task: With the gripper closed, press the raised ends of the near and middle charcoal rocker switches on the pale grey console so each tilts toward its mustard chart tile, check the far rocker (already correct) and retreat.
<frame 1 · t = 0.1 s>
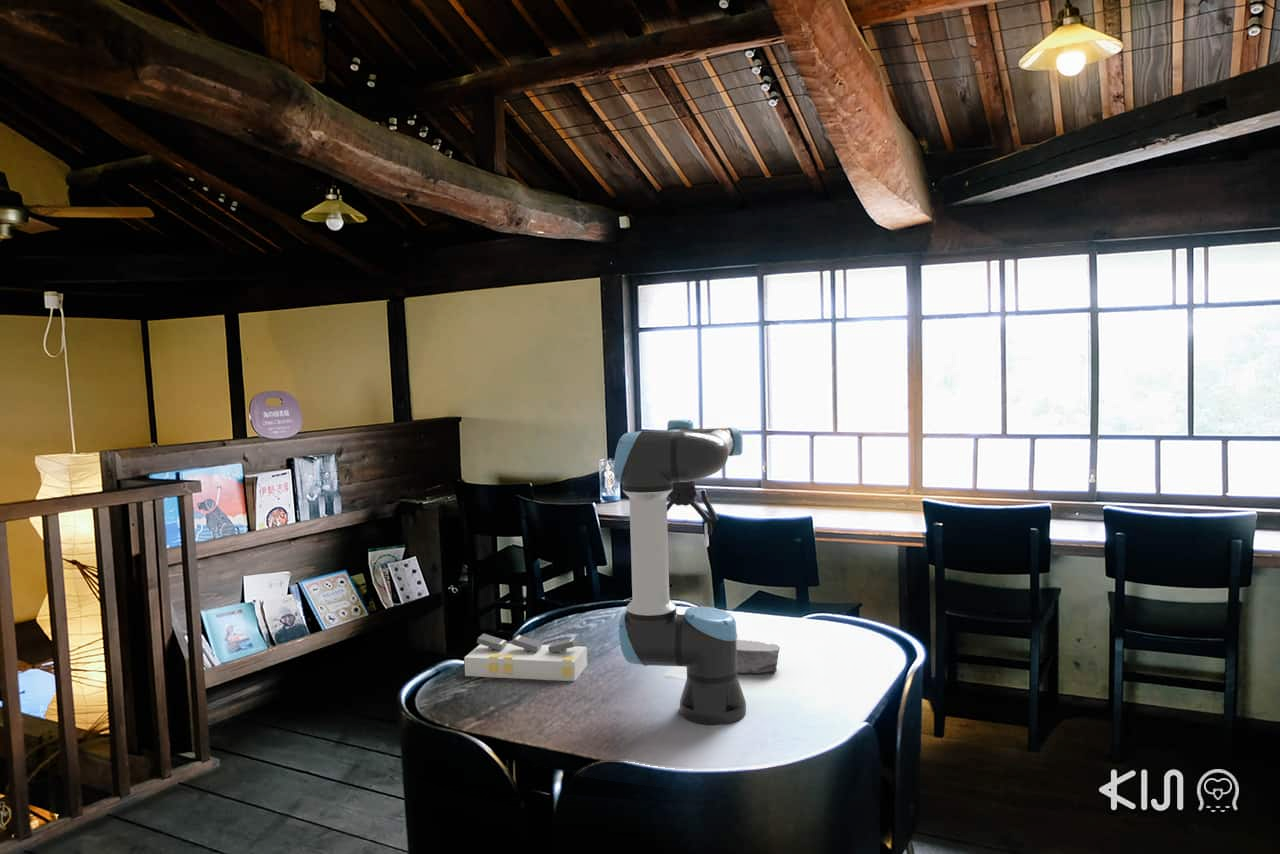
hand: (683, 545, 236), 28 cm above the table, fingers open, 13 cm apart
rocker near: (563, 644, 215), point 7 cm above the table, hinge at -15.0°
switch console: (527, 670, 217), on the table
rocker middle: (527, 643, 217), point 7 cm above the table, hinge at 15.0°
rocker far: (492, 641, 219), point 7 cm above the table, hinge at 15.0°
decorative stone: (751, 670, 213), on the table
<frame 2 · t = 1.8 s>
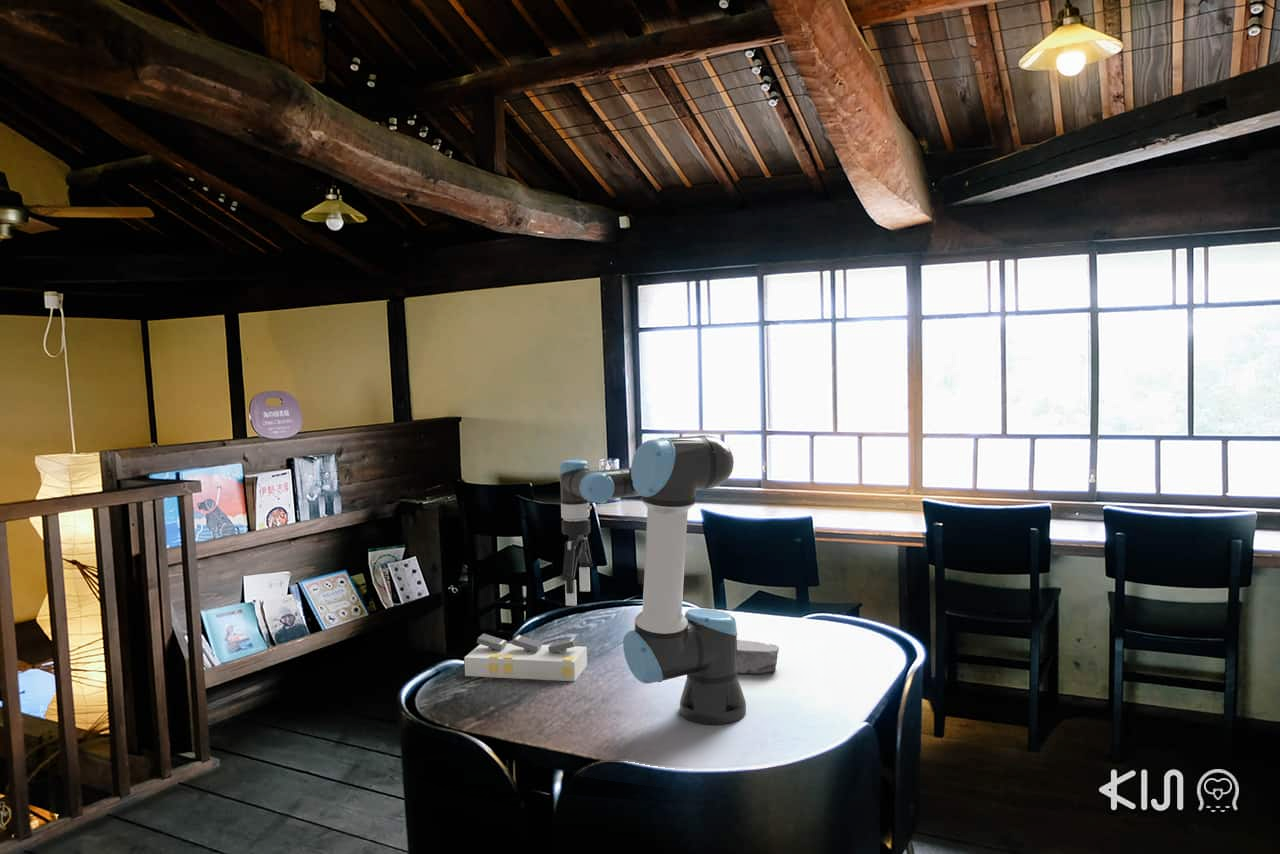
hand: (578, 597, 215), 19 cm above the table, fingers open, 13 cm apart
nothing on the table moved.
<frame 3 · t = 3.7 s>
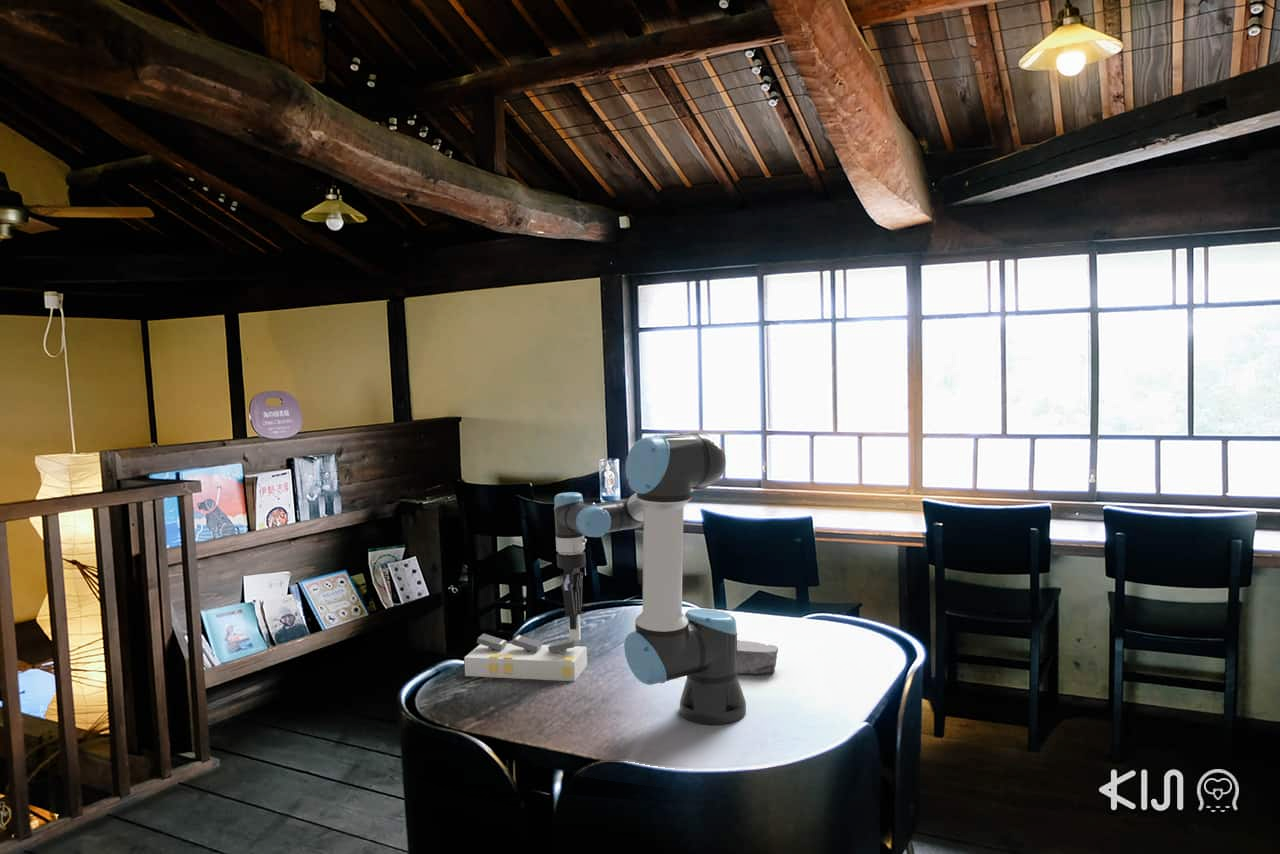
hand: (575, 639, 215), 8 cm above the table, fingers closed
rocker near: (563, 644, 215), point 7 cm above the table, hinge at -13.0°, touching gripper
everything else where it was.
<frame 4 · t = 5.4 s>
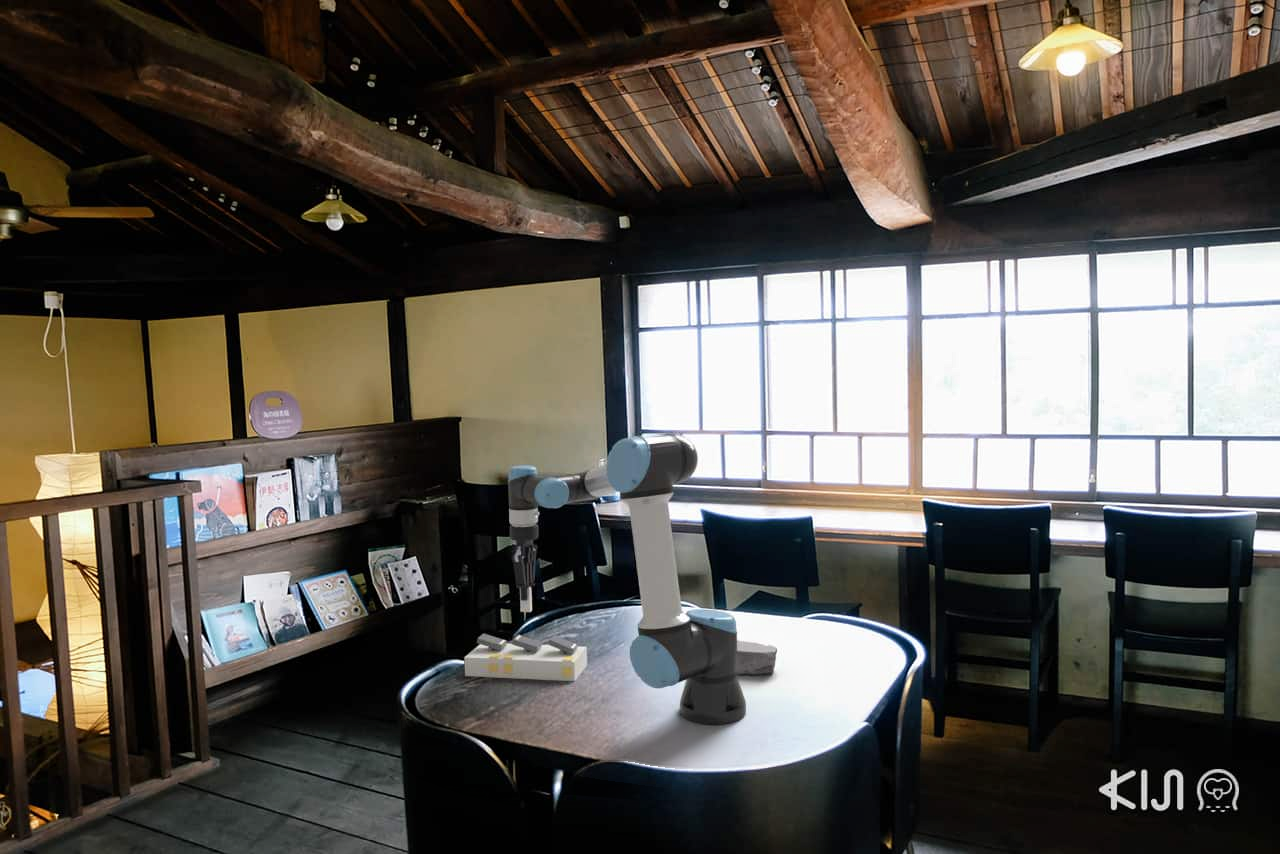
hand: (526, 611, 217), 16 cm above the table, fingers closed
rocker near: (563, 644, 215), point 7 cm above the table, hinge at 20.9°
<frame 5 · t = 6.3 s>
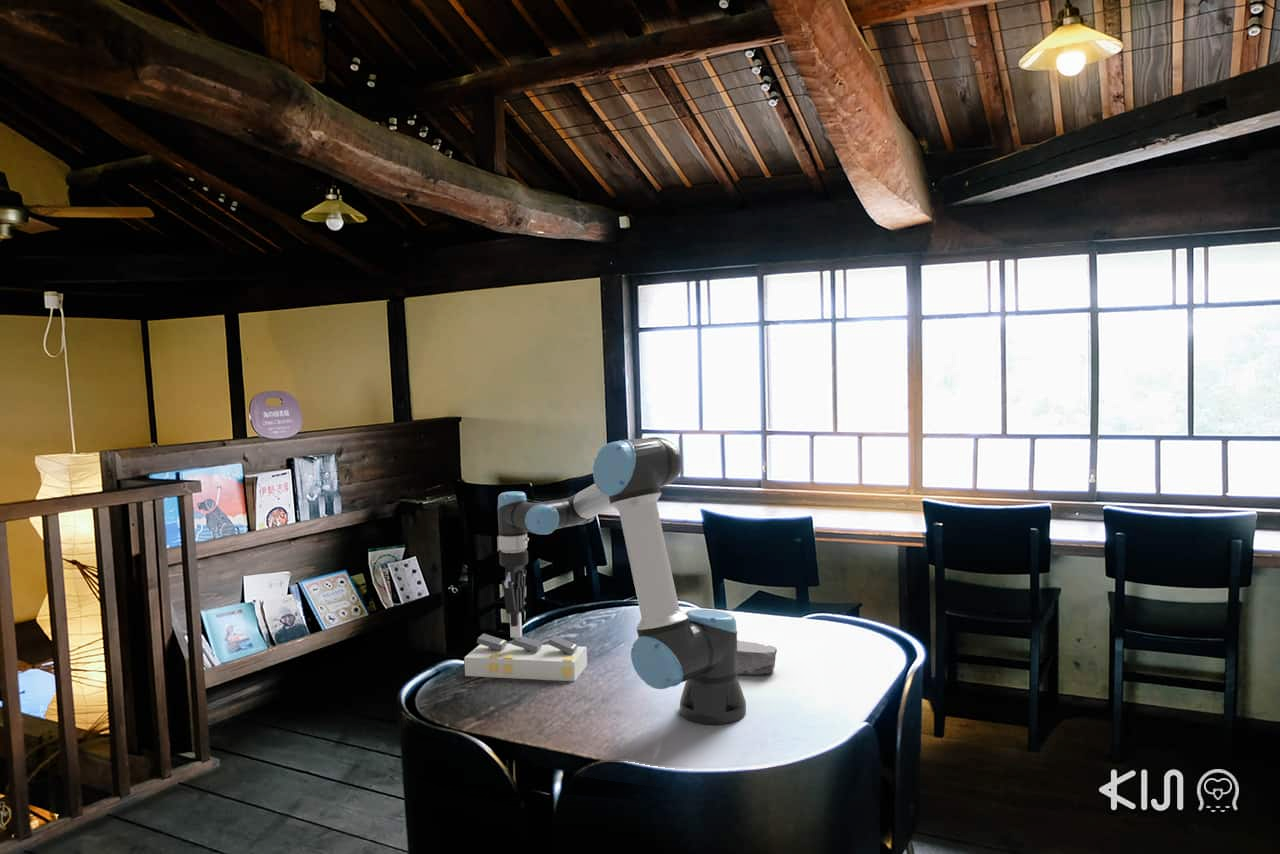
hand: (516, 636, 218), 9 cm above the table, fingers closed
rocker near: (563, 644, 215), point 7 cm above the table, hinge at 22.1°
rocker middle: (527, 643, 217), point 7 cm above the table, hinge at 14.6°, touching gripper
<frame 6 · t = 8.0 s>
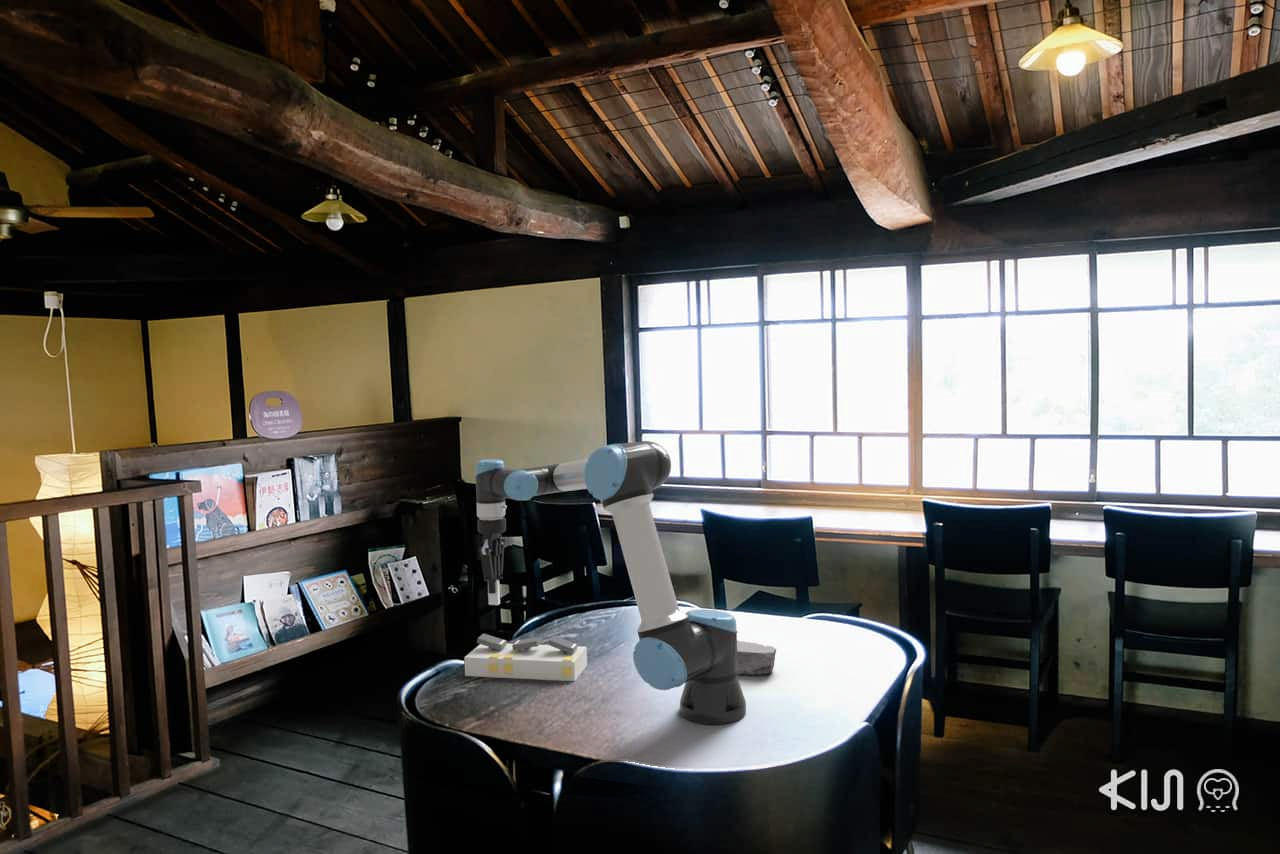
hand: (494, 604, 219), 17 cm above the table, fingers closed
rocker near: (563, 644, 215), point 7 cm above the table, hinge at 19.5°
rocker middle: (527, 643, 217), point 7 cm above the table, hinge at -11.5°
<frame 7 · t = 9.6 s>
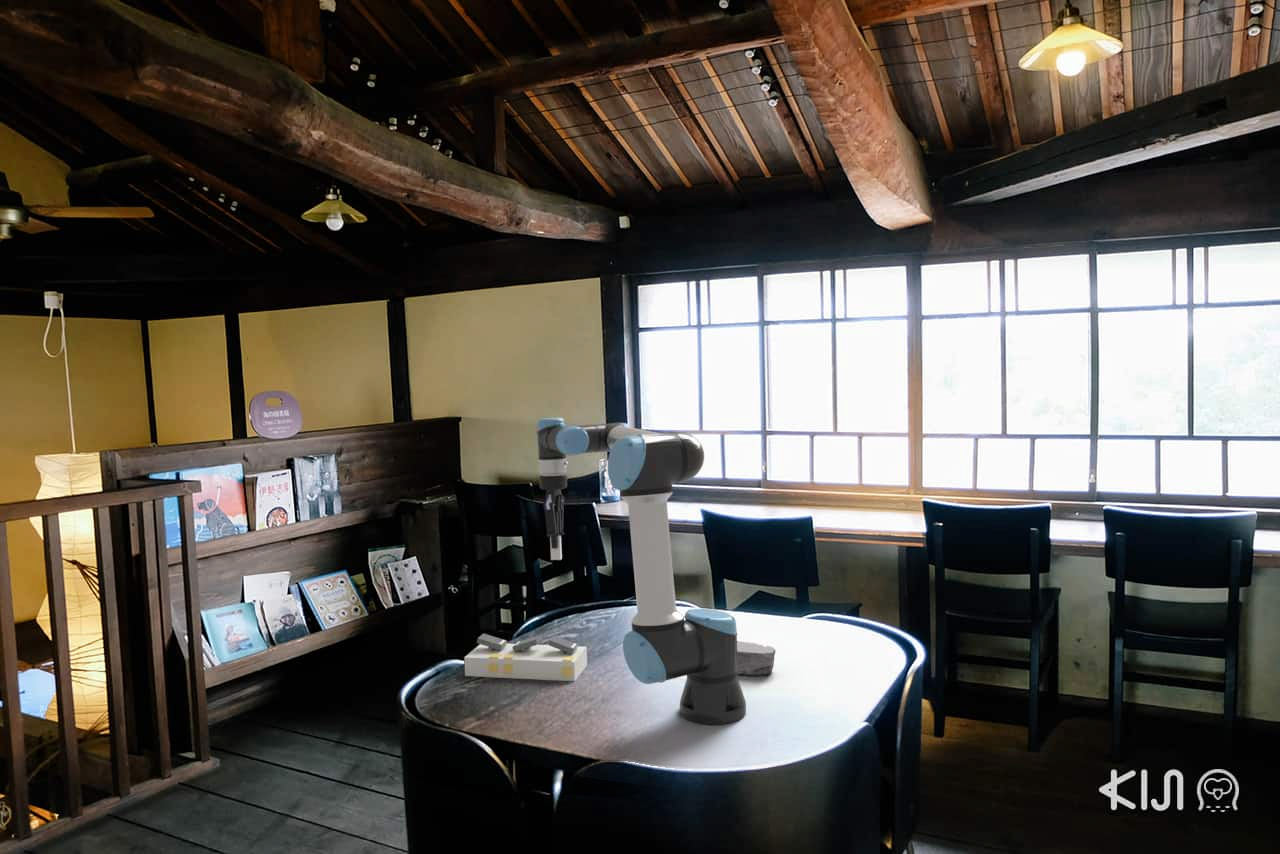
hand: (556, 559, 224), 28 cm above the table, fingers closed
rocker near: (563, 644, 215), point 7 cm above the table, hinge at 18.8°
rocker middle: (527, 643, 217), point 7 cm above the table, hinge at -18.2°
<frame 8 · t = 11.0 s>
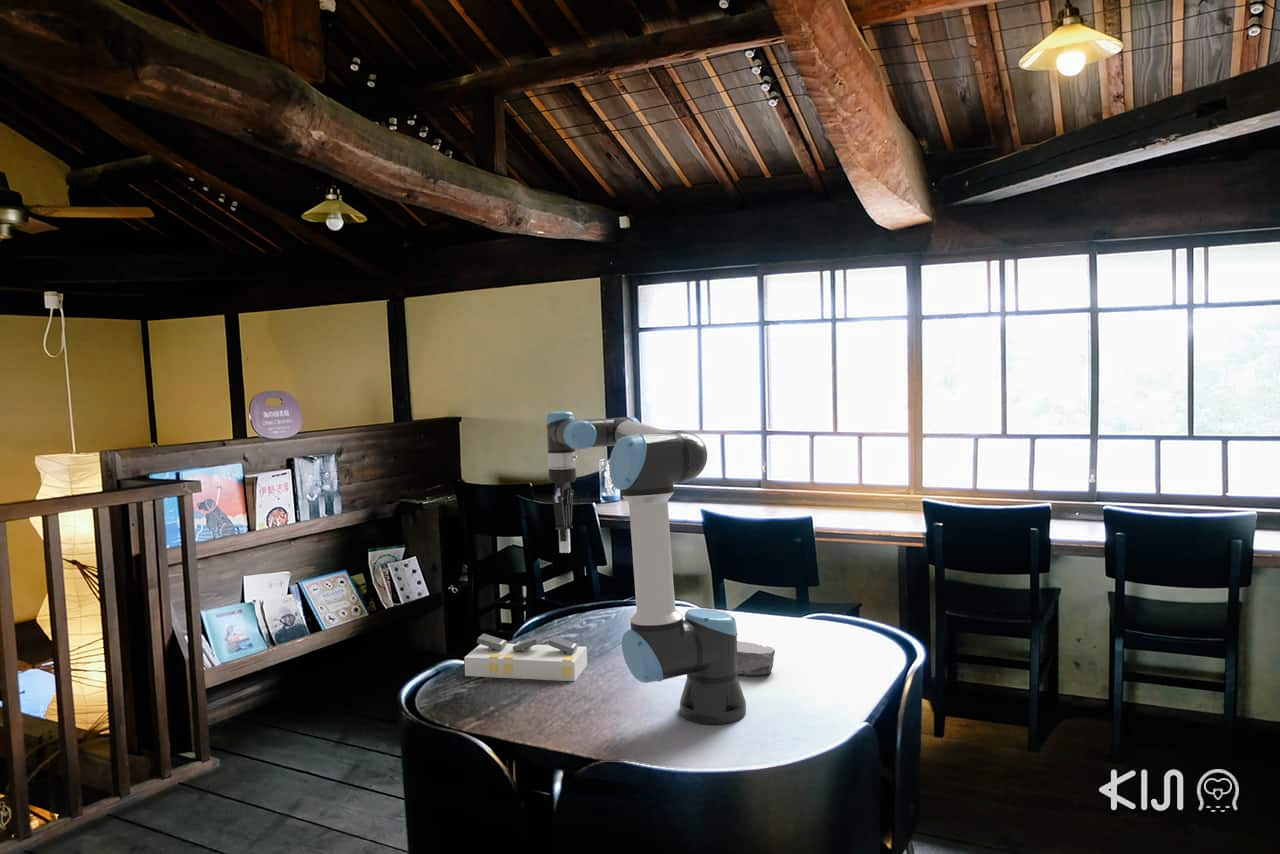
hand: (565, 552, 225), 29 cm above the table, fingers closed
rocker middle: (527, 643, 217), point 7 cm above the table, hinge at -20.1°
at the end: rocker near at +19° (first picture: -15°); rocker middle at -20° (first picture: +15°); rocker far at +15° (first picture: +15°) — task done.
